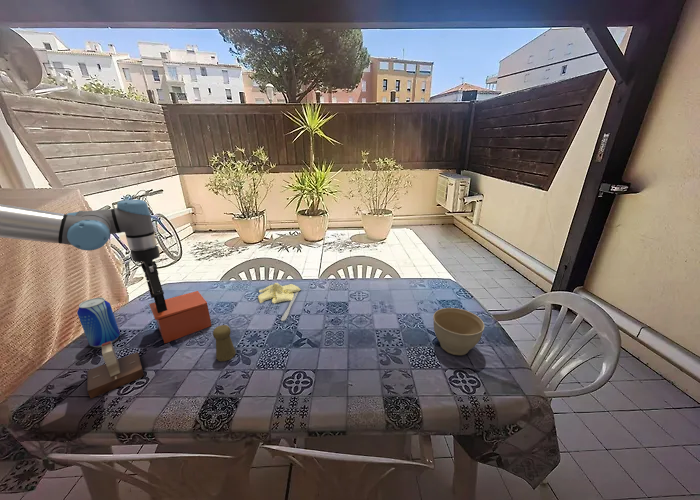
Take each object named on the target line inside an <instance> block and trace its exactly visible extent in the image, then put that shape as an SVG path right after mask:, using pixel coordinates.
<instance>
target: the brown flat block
mask: <svg viewBox="0 0 700 500" xmlns="http://www.w3.org/2000/svg"><path fill="white" fill-rule="evenodd" d="M117 359H118V362H119V367H120V373H119V374H116V375H114V376H111V377H110V374H109V371H108V369H107V366H106V363H105V364H101V365H99V366H97V367H94V368H90V369H88V370H87V393H88V396H89V399H93V398H97V397H98V396H100V395H103V394H105V393H108V392H110V391H113V390H115V389H117V388H120V387H122V386H125V385H127V384H129V383H131V382H134V381H136V380H139V379H141V378H143V377H145V374H144V370H143V365H142V362H141V358H140V354H139V352H138V351H136V352H133V353H131V354H129V355H126V356H123V357H121V358H117Z"/></svg>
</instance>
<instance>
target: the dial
mask: <svg viewBox="0 0 700 500" xmlns="http://www.w3.org/2000/svg"><path fill="white" fill-rule="evenodd" d="M101 355H102V358H103V361H104V363H105V364H106V366H107V369H108V371H109V374H110V377H111V376H114V375H116V374H119V373H120V367H119V362H118V359H119V358H118V356H117V354H116V351H115V348H114V345H113V343H112V342H111V341H109V342H106V343H103V344H102V347H101Z"/></svg>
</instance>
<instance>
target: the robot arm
mask: <svg viewBox="0 0 700 500" xmlns="http://www.w3.org/2000/svg"><path fill="white" fill-rule="evenodd" d="M121 233H124V234H125V238H126V242H127V245H128V249H130V252H129V253H130V256H131V259H132V261H133V262H135V263H140V267H141V269H142V272H143V273H144V277H145V280H146V283H147V284H146V285H147V287H148V291H149V295H150V298H151V299H153V300H154V302H155V304H156V308H157V312H158V313H160V312H163V311H166V310H167V306H166V303H165V295H164V294H165V292H164V290H163V287H162V283H161V281H160V277H159V270H158V264H157V263H156V261H155V260H156V259H158V258H160V256H161V252H160V249H159V246H158V242H157V239H158V238H159V236H158V235H157V234H156V233H155V229H154V225H153V220H152V216H151V213H150V209H149V206H148V203H147V202H146V201H145V200H143V199H126V200H120V201H118V202H117V203H116V208H109V209H96V210H95V209H94V210H84V211H83V210H79V211H75V212H68V213H66V214H65V213H61V212H54V211H48V210H41V209H40V210H39V209H36V208H35V209H34V208H29V207H22V206H15V205H9V204H2V203H0V238H1V239H11V240H21V241H22V240H23V241H31V242H32V241H33V242H41V243H51V244H60V245H61V244H62V245H67V246H68V245H70V246H73V247H75V248H76V249H78V250H82V251H96V250H98V249H101V248H103V247H104V246H105V245H106V244H107V242H109V239H110V238H111V235H113V234H121ZM155 234H156V235H155ZM152 291H153V292H152Z"/></svg>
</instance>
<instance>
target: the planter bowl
mask: <svg viewBox="0 0 700 500" xmlns="http://www.w3.org/2000/svg"><path fill="white" fill-rule="evenodd" d="M432 316H433V317H432V318H433V319H432V321H433V331H434V334H435V337H436V339H437V341H438V342H439V345H440V347H441V348H442V350H443V351H445V352H447V353H448V354H451V355H454V356H464V355H466V354H468V353H469V352H470V350H472V349H474V348H475V347H476V345H478V343H479V342H480V340H481V338H482V337H483V333H484V330H485V323H484V321H483V319H481V317H480V316H478V315H477V314H476V313H473V312H471V311H469V310H466V309H462V308H457V307H444V308H439V309H438V310H436V311H435V312H434V314H433V315H432Z"/></svg>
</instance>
